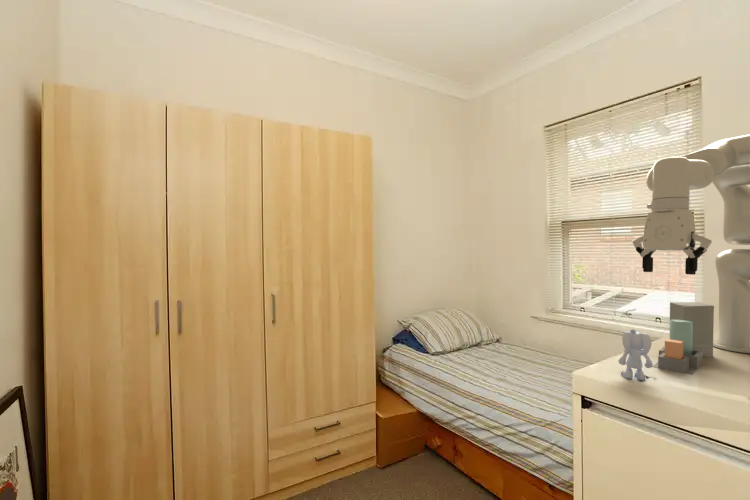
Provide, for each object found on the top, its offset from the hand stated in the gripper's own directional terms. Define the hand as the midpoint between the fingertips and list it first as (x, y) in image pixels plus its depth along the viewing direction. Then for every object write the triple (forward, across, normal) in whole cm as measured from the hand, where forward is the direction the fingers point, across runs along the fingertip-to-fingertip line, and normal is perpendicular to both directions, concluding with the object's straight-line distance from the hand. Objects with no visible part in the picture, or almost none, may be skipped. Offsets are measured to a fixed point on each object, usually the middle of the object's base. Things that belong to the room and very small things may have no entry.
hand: (668, 273), depth 97 cm
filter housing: (+25, 0, +5) cm, 26 cm away
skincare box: (+25, -5, +22) cm, 34 cm away
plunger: (+22, +1, +1) cm, 22 cm away
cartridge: (+24, -1, +9) cm, 26 cm away
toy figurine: (+26, 0, -12) cm, 29 cm away
